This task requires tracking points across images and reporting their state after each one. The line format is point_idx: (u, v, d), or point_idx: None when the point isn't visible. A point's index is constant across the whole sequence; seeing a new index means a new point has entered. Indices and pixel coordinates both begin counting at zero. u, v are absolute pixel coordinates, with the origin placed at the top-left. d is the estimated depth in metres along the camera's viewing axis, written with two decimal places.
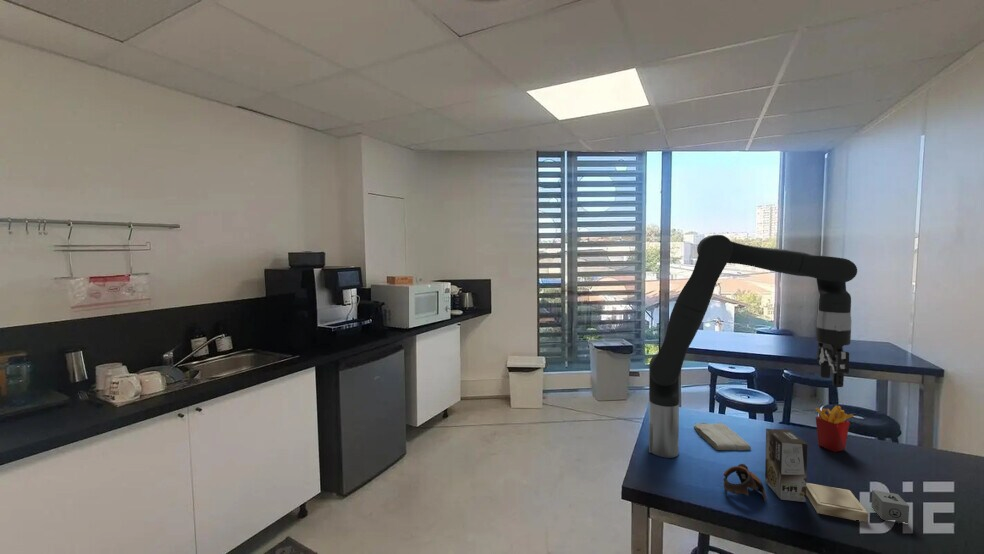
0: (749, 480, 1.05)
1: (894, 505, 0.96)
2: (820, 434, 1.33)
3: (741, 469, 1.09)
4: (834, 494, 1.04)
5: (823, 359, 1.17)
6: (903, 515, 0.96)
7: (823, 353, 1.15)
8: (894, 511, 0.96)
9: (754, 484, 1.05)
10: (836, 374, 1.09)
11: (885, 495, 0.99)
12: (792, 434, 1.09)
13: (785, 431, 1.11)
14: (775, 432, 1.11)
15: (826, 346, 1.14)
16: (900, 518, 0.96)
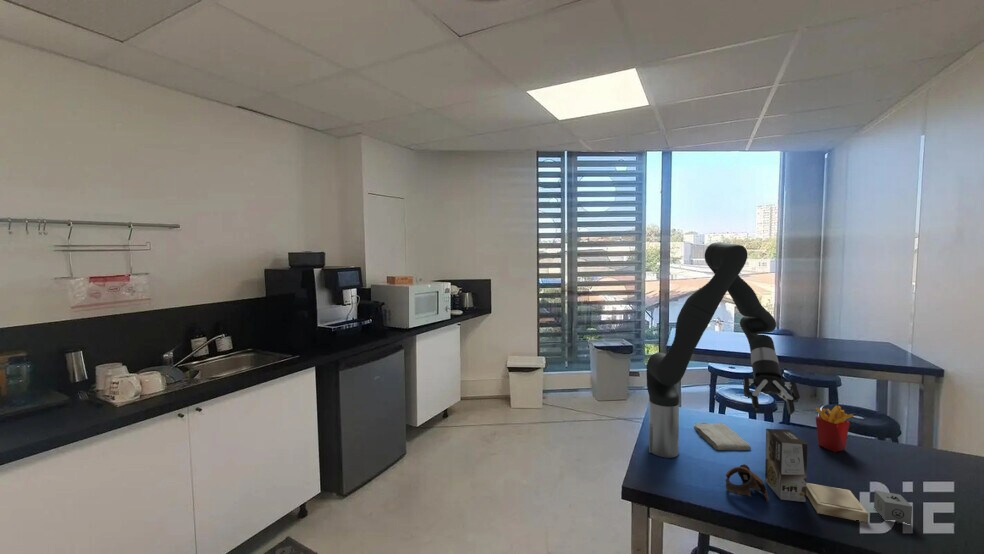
0: (751, 481, 1.04)
1: (897, 506, 0.96)
2: (820, 434, 1.33)
3: (743, 470, 1.09)
4: (834, 494, 1.04)
5: (760, 391, 1.24)
6: (906, 516, 0.95)
7: (765, 384, 1.24)
8: (897, 512, 0.96)
9: (756, 485, 1.04)
10: (792, 401, 1.19)
11: (888, 496, 0.99)
12: (792, 434, 1.09)
13: (785, 431, 1.11)
14: (775, 432, 1.11)
15: (765, 379, 1.25)
16: (903, 519, 0.96)
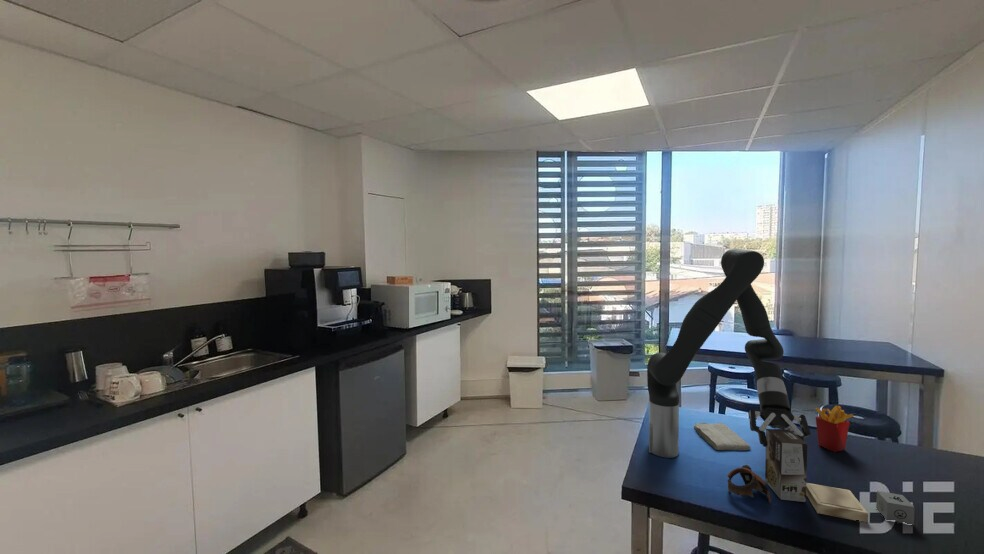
0: (754, 482, 1.04)
1: (899, 506, 0.96)
2: (820, 434, 1.33)
3: (745, 470, 1.09)
4: (834, 494, 1.04)
5: (767, 425, 1.15)
6: (908, 516, 0.95)
7: (773, 418, 1.16)
8: (899, 512, 0.96)
9: (759, 486, 1.04)
10: (802, 437, 1.11)
11: (890, 496, 0.99)
12: (792, 434, 1.09)
13: (785, 431, 1.11)
14: (775, 432, 1.11)
15: (773, 412, 1.17)
16: (905, 519, 0.95)
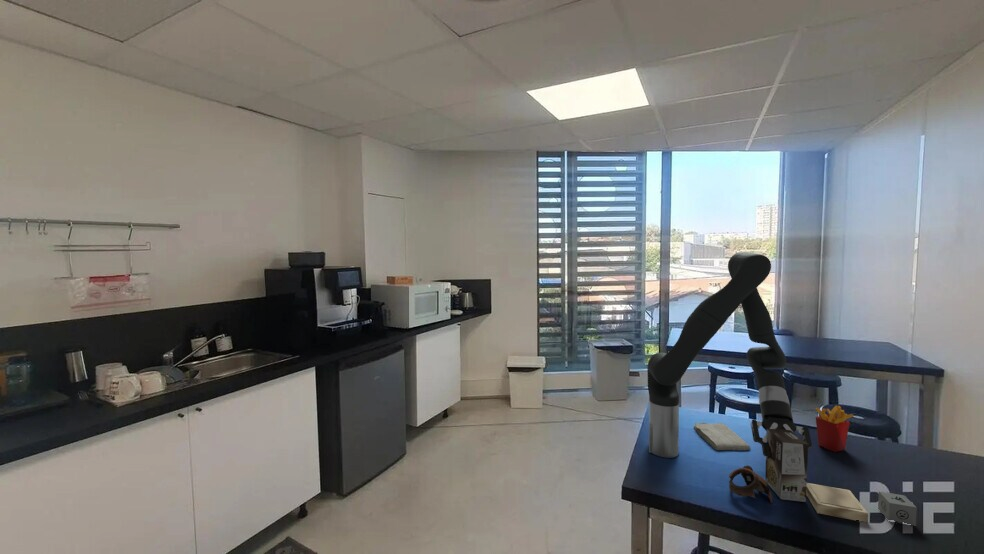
0: (755, 482, 1.04)
1: (901, 507, 0.96)
2: (820, 434, 1.33)
3: (747, 471, 1.08)
4: (834, 494, 1.04)
5: None
6: (910, 517, 0.95)
7: (775, 428, 1.13)
8: (901, 513, 0.96)
9: (760, 486, 1.04)
10: None
11: (892, 496, 0.99)
12: (793, 434, 1.09)
13: (786, 431, 1.11)
14: (776, 432, 1.11)
15: (775, 422, 1.15)
16: (907, 520, 0.95)
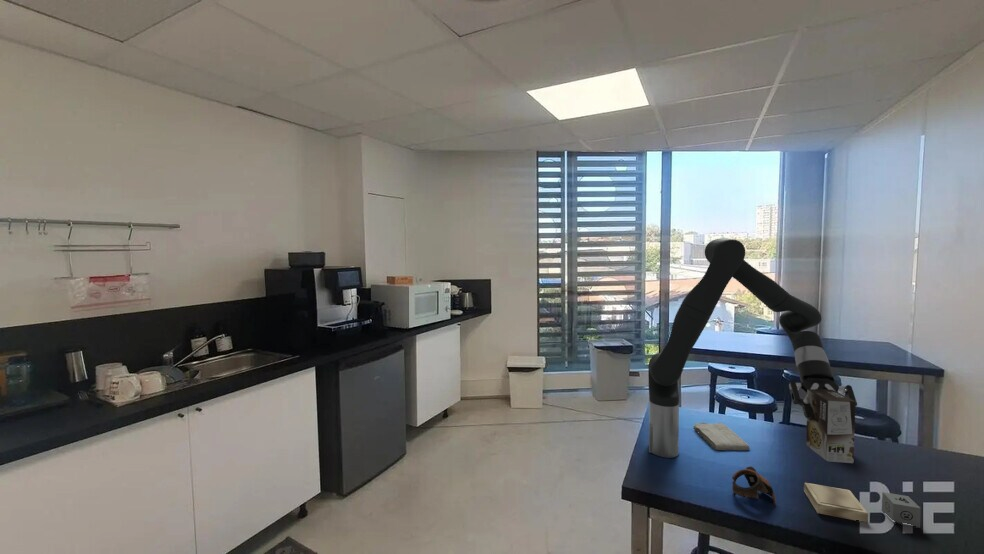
0: (759, 483, 1.03)
1: (905, 507, 0.95)
2: None
3: (750, 472, 1.08)
4: (834, 494, 1.04)
5: None
6: (915, 517, 0.95)
7: None
8: (905, 513, 0.95)
9: (764, 487, 1.03)
10: None
11: (896, 497, 0.98)
12: (836, 393, 1.03)
13: (828, 391, 1.05)
14: (818, 392, 1.05)
15: (815, 382, 1.09)
16: (912, 520, 0.95)
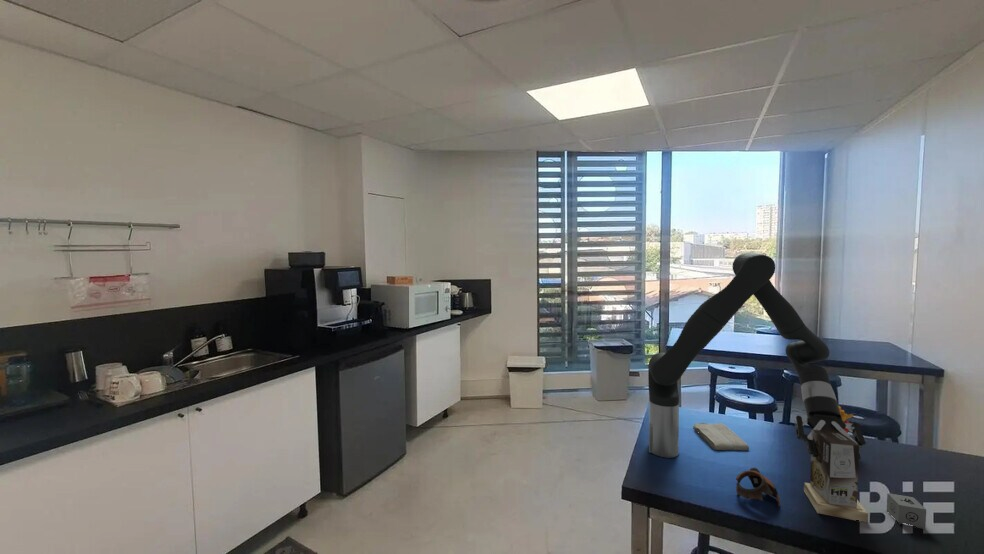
0: (763, 485, 1.03)
1: (911, 509, 0.95)
2: None
3: (754, 473, 1.07)
4: None
5: None
6: (920, 519, 0.94)
7: (822, 426, 1.07)
8: (911, 515, 0.95)
9: (768, 489, 1.02)
10: None
11: (901, 498, 0.98)
12: (841, 435, 1.03)
13: (833, 431, 1.05)
14: (822, 432, 1.05)
15: (822, 419, 1.08)
16: (917, 522, 0.94)
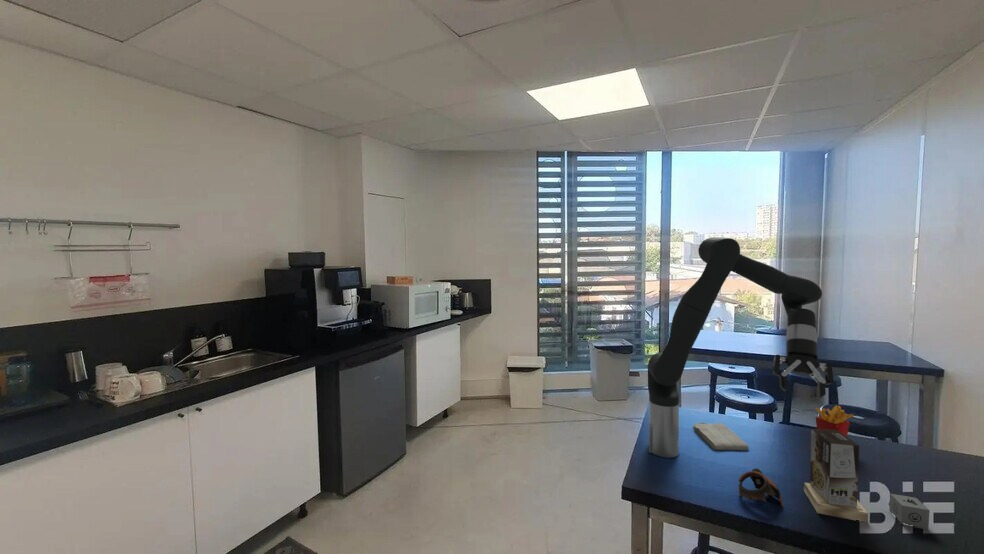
0: (766, 486, 1.02)
1: (914, 509, 0.94)
2: None
3: (756, 474, 1.07)
4: None
5: (790, 371, 1.18)
6: (923, 519, 0.94)
7: (798, 365, 1.17)
8: (914, 515, 0.95)
9: (771, 490, 1.02)
10: (824, 384, 1.14)
11: (904, 499, 0.98)
12: (841, 435, 1.03)
13: (833, 431, 1.05)
14: (822, 432, 1.05)
15: (799, 358, 1.18)
16: (920, 522, 0.94)
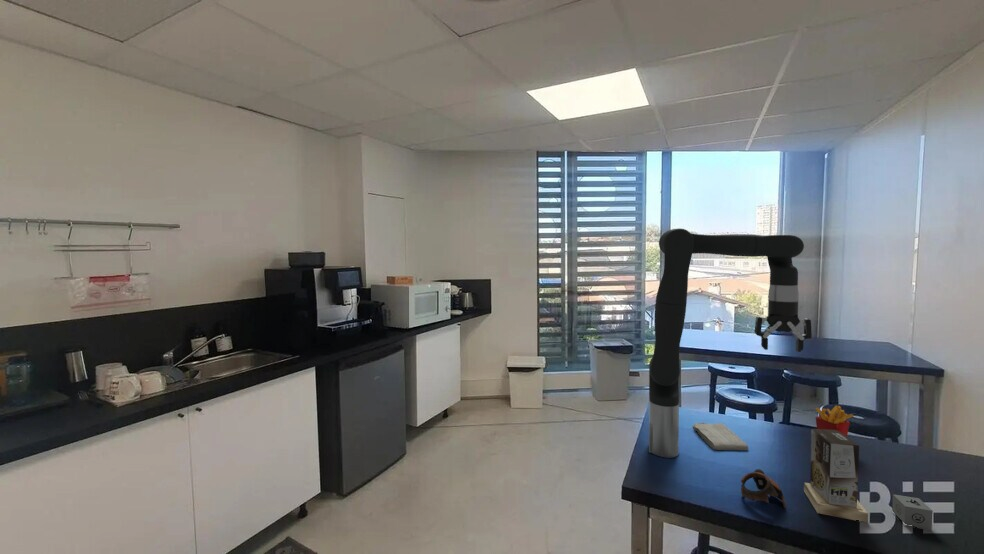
0: (769, 487, 1.02)
1: (917, 510, 0.94)
2: None
3: (759, 475, 1.06)
4: None
5: None
6: (926, 520, 0.94)
7: None
8: (917, 516, 0.94)
9: (774, 491, 1.02)
10: (802, 340, 1.20)
11: (907, 500, 0.97)
12: (841, 435, 1.03)
13: (833, 431, 1.05)
14: (822, 432, 1.05)
15: (780, 318, 1.22)
16: (923, 523, 0.94)
